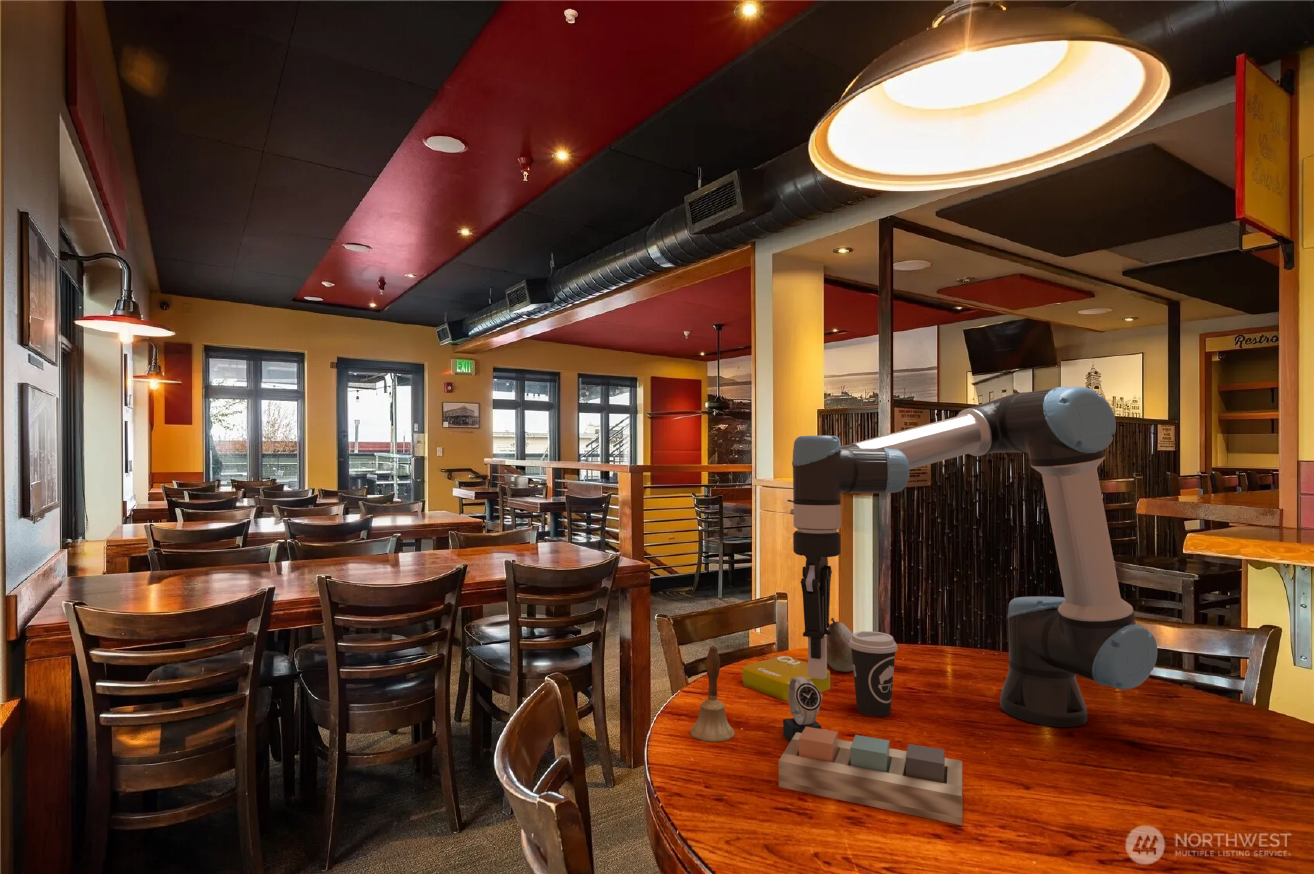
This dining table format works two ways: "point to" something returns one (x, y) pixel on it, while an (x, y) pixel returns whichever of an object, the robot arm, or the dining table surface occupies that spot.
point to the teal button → (870, 753)
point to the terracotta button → (818, 744)
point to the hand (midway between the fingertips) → (817, 676)
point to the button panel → (875, 783)
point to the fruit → (839, 647)
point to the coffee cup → (873, 671)
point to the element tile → (779, 676)
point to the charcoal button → (925, 763)
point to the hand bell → (712, 707)
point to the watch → (802, 707)
